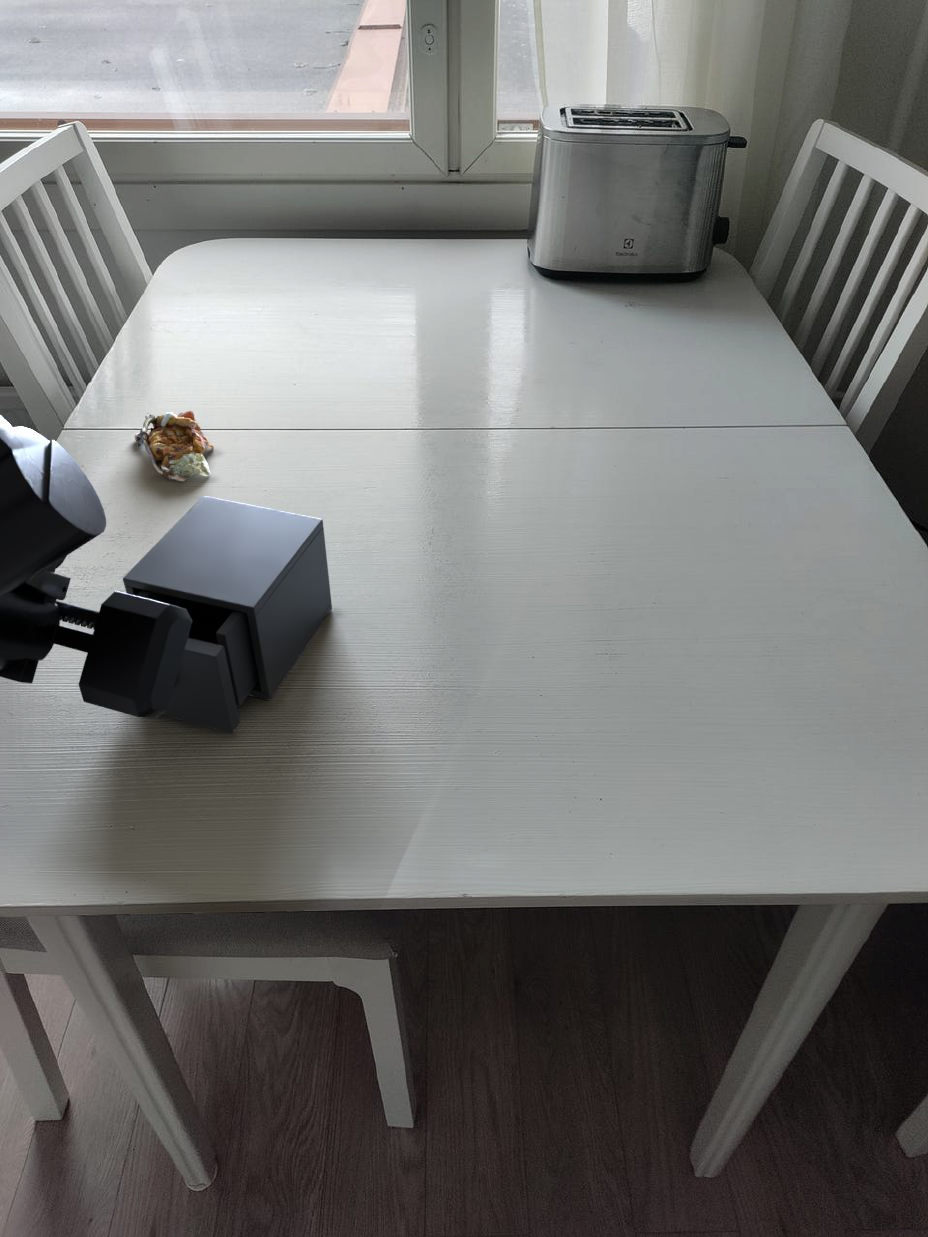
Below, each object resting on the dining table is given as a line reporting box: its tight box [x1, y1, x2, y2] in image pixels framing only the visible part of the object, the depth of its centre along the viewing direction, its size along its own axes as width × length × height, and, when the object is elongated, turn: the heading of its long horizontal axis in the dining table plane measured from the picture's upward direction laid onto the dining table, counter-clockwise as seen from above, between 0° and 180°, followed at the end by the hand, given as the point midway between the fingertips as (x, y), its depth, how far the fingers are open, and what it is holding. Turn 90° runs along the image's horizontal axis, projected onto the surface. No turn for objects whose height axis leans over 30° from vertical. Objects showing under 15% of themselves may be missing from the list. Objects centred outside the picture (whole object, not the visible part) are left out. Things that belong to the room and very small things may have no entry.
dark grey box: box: [122, 495, 333, 701], centre depth 77 cm, size 12×11×9 cm
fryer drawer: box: [136, 589, 259, 734], centre depth 73 cm, size 12×10×8 cm
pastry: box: [134, 410, 215, 482], centre depth 102 cm, size 7×12×4 cm, turn 32°
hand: (105, 640), depth 61 cm, fingers open, 9 cm apart
